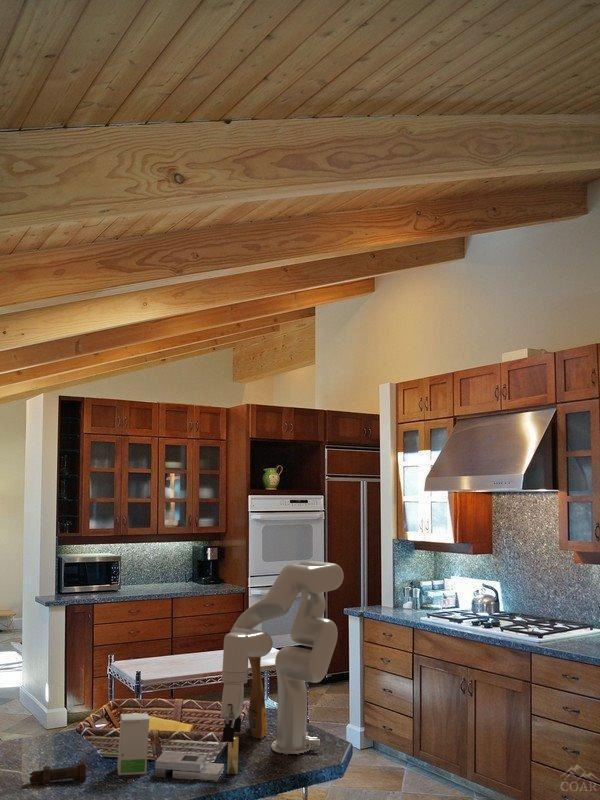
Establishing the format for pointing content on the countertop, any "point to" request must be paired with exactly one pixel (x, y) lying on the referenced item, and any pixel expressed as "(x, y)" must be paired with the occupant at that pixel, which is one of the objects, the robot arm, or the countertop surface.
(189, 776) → the grey electronic gadget
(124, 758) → the skincare box
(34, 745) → the countertop surface
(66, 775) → the bolt
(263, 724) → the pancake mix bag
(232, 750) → the pin
